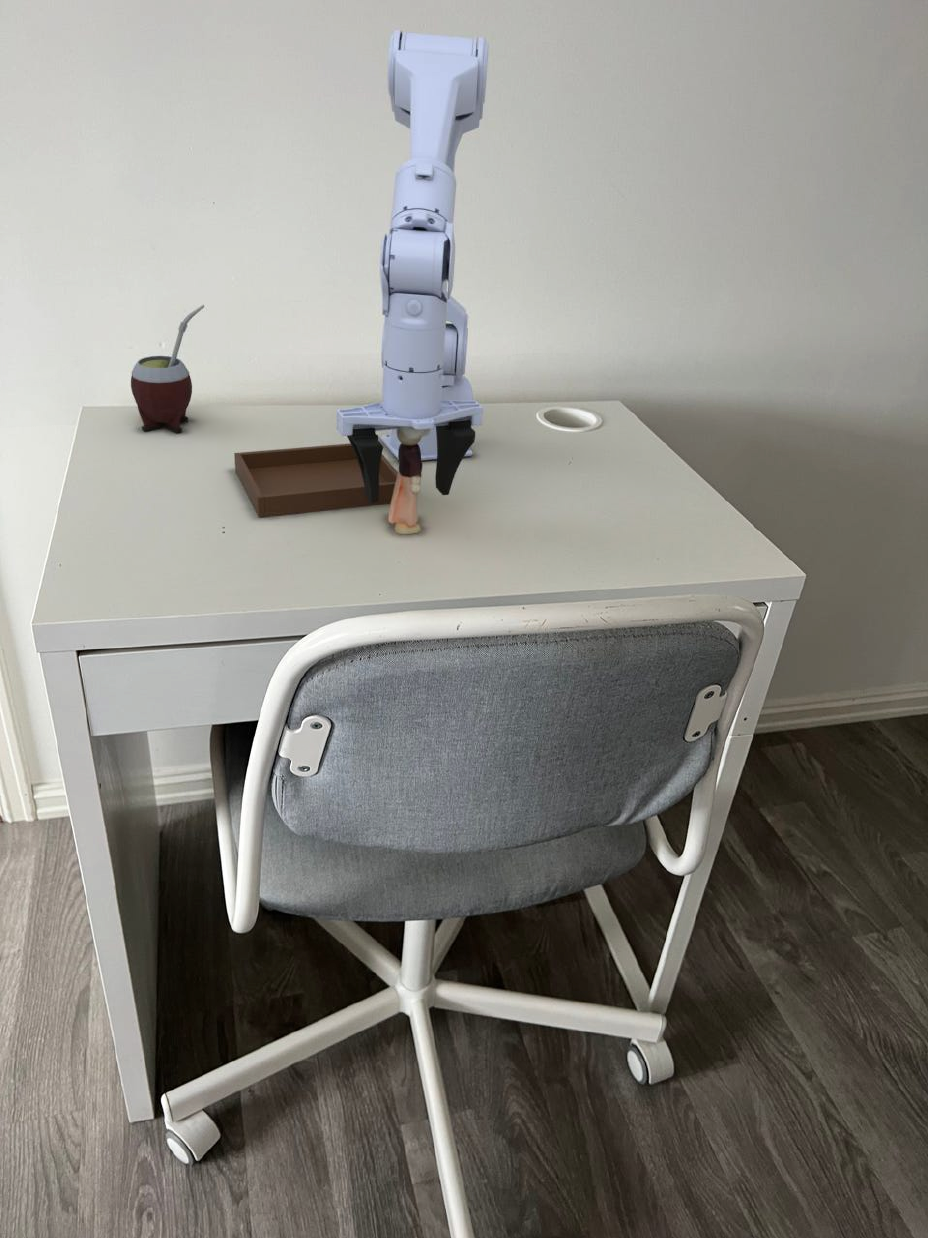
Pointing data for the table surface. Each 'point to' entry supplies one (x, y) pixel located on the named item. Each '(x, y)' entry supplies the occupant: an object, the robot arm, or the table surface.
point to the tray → (308, 479)
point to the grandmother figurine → (407, 481)
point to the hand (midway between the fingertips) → (407, 494)
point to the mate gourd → (163, 387)
